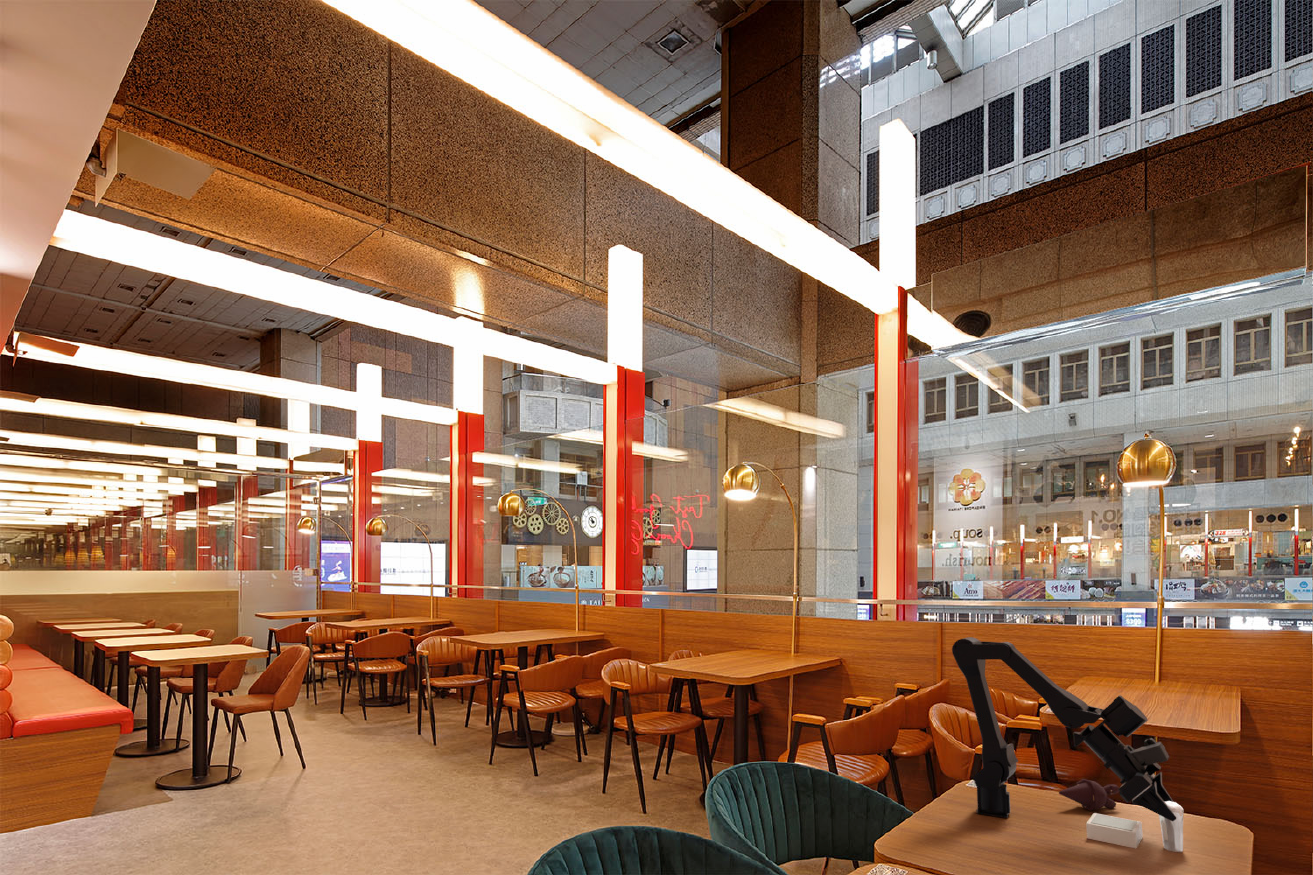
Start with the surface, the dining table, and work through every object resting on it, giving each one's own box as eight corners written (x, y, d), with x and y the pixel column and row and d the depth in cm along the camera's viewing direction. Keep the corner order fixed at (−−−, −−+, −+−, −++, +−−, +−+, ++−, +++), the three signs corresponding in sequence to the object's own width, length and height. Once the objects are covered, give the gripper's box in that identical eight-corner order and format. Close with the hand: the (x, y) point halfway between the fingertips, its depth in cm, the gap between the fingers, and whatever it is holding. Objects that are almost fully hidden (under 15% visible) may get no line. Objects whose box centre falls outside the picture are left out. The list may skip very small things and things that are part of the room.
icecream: (1071, 786, 181) (1131, 791, 183) (1052, 770, 189) (1109, 774, 190) (1066, 815, 182) (1125, 819, 184) (1047, 797, 189) (1104, 801, 191)
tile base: (1087, 838, 166) (1086, 822, 166) (1095, 827, 173) (1094, 812, 173) (1136, 848, 160) (1135, 831, 161) (1142, 836, 167) (1141, 821, 168)
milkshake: (1157, 842, 164) (1153, 792, 166) (1187, 848, 161) (1183, 797, 162) (1153, 848, 161) (1150, 796, 162) (1185, 855, 157) (1181, 802, 159)
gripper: (1133, 734, 159) (1204, 802, 151) (1146, 720, 174) (1211, 782, 165) (1092, 767, 163) (1159, 837, 155) (1107, 751, 177) (1169, 814, 169)
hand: (1176, 816), depth 161 cm, fingers open, 6 cm apart
